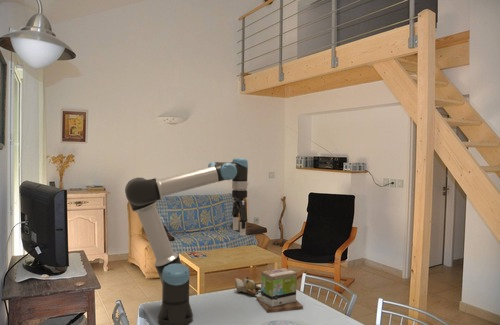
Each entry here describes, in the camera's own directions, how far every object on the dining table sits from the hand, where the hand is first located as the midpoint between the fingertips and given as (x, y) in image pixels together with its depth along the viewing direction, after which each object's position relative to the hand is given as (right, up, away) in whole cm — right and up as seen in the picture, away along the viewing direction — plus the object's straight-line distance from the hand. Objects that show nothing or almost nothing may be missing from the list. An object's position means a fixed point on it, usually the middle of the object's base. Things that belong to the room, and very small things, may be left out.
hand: (239, 232), depth 198 cm
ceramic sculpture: (+4, -35, +15) cm, 38 cm away
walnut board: (+20, -35, -1) cm, 40 cm away
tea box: (+19, -34, -1) cm, 39 cm away
